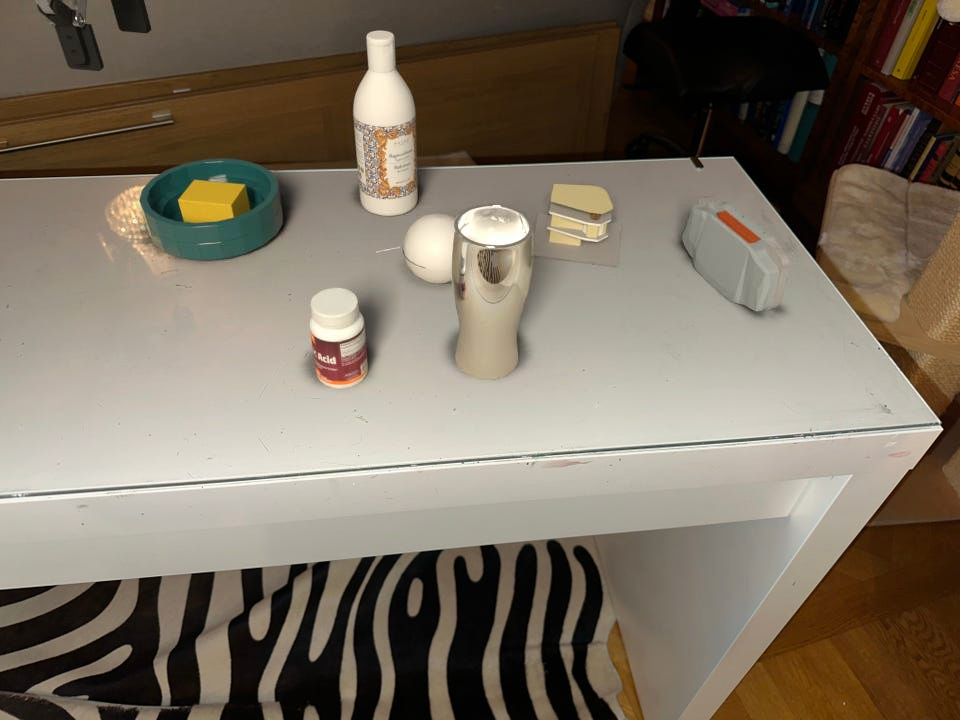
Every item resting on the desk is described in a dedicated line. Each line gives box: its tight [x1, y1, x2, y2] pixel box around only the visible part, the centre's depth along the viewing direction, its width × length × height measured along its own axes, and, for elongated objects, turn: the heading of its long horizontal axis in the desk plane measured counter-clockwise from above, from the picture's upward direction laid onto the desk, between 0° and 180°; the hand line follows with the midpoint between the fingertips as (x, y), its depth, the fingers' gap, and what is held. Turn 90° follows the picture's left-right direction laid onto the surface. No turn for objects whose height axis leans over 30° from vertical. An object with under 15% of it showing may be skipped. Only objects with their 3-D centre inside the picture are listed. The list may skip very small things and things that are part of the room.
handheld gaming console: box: [681, 195, 791, 312], centre depth 79 cm, size 14×3×8 cm, turn 24°
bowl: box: [139, 157, 284, 262], centre depth 85 cm, size 15×15×5 cm
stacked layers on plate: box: [533, 183, 622, 268], centre depth 85 cm, size 10×9×6 cm
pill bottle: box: [308, 287, 369, 389], centre depth 67 cm, size 5×5×8 cm
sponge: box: [178, 180, 251, 223], centre depth 84 cm, size 6×4×4 cm
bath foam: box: [352, 30, 419, 217], centre depth 85 cm, size 7×7×20 cm
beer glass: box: [451, 203, 535, 381], centre depth 67 cm, size 7×7×15 cm
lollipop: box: [376, 212, 456, 284], centre depth 79 cm, size 10×7×7 cm
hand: (112, 49), depth 72 cm, fingers open, 9 cm apart
